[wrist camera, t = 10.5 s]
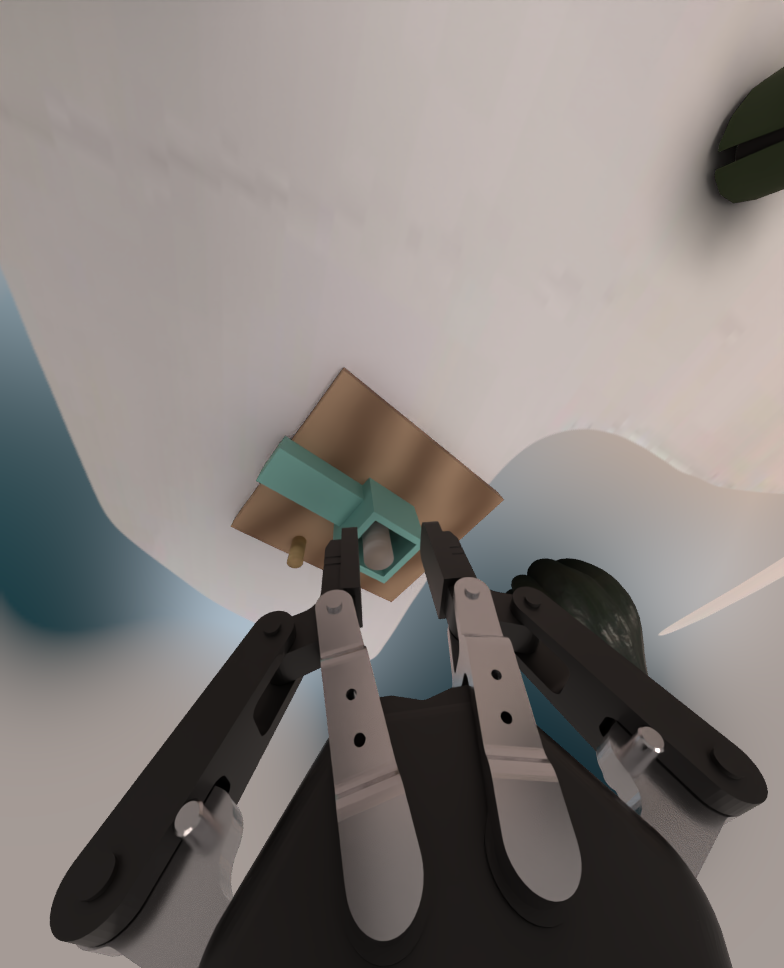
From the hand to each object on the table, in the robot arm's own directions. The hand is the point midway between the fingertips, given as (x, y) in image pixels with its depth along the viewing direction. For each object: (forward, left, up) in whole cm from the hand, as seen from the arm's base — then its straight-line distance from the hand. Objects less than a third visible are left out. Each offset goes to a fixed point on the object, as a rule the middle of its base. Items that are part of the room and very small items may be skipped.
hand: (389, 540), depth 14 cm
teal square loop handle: (+1, -6, -14) cm, 15 cm away
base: (+5, -6, -15) cm, 17 cm away
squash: (+31, -3, -15) cm, 35 cm away
